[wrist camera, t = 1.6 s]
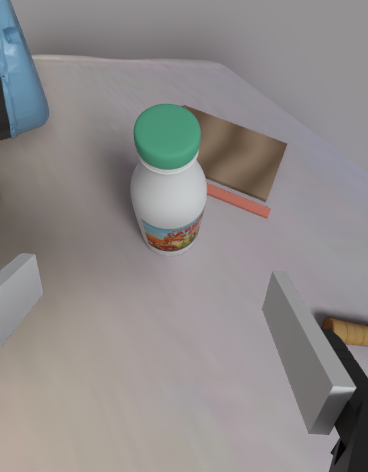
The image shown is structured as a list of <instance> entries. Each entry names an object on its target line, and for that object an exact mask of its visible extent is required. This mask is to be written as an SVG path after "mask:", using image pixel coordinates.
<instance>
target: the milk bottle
mask: <svg viewBox="0 0 368 472" xmlns="http://www.w3.org/2000/svg"><path fill="white" fill-rule="evenodd" d="M200 138H201V130H200V126H199V123H198V121H197V119H196V117H195V116H194V115H193V114H192V113H191V112H190V111H188V110H187V109H185V108H183V107H181V106H178V105H173V104H160V105H155V106H153V107H150V108H148V109H147V110H145V111H144V112H143V113H141V115H140V116H139V117H138V119H137V120H136V123H135V126H134V141H135V145H136V149H137V155H138V157H139V159H140V161H139V162H138V164H137V166H136V167H135V169H134V172H133V175H132V178H131V185H130V192H131V200H132V204H133V208H134V212H135V215H136V218H137V221H138V224H139V227H140V230H141V233H142V236H143V238H144V240H145V242H146V244H147V245H148V246H149V248H150V249H152V250H153V251H154V252H156V253H158V254H161V255H165V256H175V255H179V254H181V253H184V252H185V251H187V250H188V249H189V248H190V247H191V246H192V245H193V243H194V242H195V240H196V237H197V234H198V231H199V227H200V224H201V220H202V216H203V212H204V208H205V203H206V198H207V184H206V178H205V175H204V172H203V170H202V168H201V166H200V164H199V163H198V161H197V160H196V159H197V156H198V152H199V145H200Z"/></svg>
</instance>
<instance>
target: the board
mask: <svg viewBox="0 0 368 472" xmlns="http://www.w3.org/2000/svg"><path fill="white" fill-rule="evenodd" d="M183 108H185V109H187V110H188V111H190V112H191V113H192V114H193V115H194V116H195V117H196V119H197V121H198V123H199V126H200V130H201V138H200V145H199V152H198V156H197V159H196V160H197V161H198V163H199V164H200V166H201V168H202V170H203V172H204V175H205V178H207V179H210V180H212V181H215V182H217V183H220V184H222V185H225V186H227V187H230V188H232V189H235V190H237V191H240V192H242V193H245V194H247V195H250V196H252V197H255V198H257V199H260V200H262V201H265V202H266V200H267V198H268V195H269V192H270V190H271V187H272V184H273V181H274V179H275V176H276V173H277V170H278V168H279V165H280V162H281V159H282V157H283V154H284V151H285V148H286V146H287V143H284V142H281V141H279V140H276V139H273V138H271V137H268V136H265V135H263V134H260V133H257V132H254V131H252V130H249V129H246V128H244V127H241V126H238V125H236V124H233V123H230V122H228V121H225V120H222V119H220V118H217V117H214V116H212V115H209V114H206V113H204V112H201V111H198V110H196V109H193V108H190V107H188V106H185V105H184V106H183Z"/></svg>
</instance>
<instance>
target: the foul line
mask: <svg viewBox="0 0 368 472" xmlns="http://www.w3.org/2000/svg"><path fill="white" fill-rule="evenodd" d="M206 184H207V194H208V195H210V196H213V197H215V198H217V199H220V200H222V201H225V202H227V203H230V204H232V205H235V206H237V207H240V208H242V209H245V210H247V211H249V212H252V213H254V214H257V215H259V216H262V217H264V218H268V215H269V212H270V208H268V207H265V206H263V205H260V204H258V203H255V202H253V201H250V200H248V199H245V198H243V197H240V196H238V195H235V194H233V193H230V192H228V191H225V190H223V189H220V188H218V187H215V186H213V185H210V184H208V183H206Z"/></svg>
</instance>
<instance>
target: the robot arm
mask: <svg viewBox="0 0 368 472" xmlns="http://www.w3.org/2000/svg"><path fill="white" fill-rule="evenodd" d="M48 117H49V107H48V103H47V100H46V97H45V94H44V91H43V88H42V85H41V82H40V79H39V76H38V73H37V71H36V68H35V65H34V62H33V59H32V57H31V54H30V52H29V49H28V46H27V44H26V40H25V38H24V35H23V32H22V29H21V27H20V24H19V21H18V19H17V16H16V14H15V11H14V9H13V6H12V3H11V1H10V0H0V140H4V139H7V138H12V139H13V138H15V137H17V135H18V134H20V133H23V132H26V131H29V130H32V129H35V128H38V127H40V126H42V125H43V124H45V122H46V121H47V119H48ZM42 295H43V290H42V285H41V280H40V275H39V271H38V266H37V261H36V256H35V254H28V253H20V254H19V255H18V256H17V257H16V258H14V259H13V260H12V261H11V262H10V263H9V264H7V265H6V266H5V267H4V268H3V269H1V270H0V348H1V347H2V346H3V344H4V343H5V342H6V341H7V339H8V338H9V337H10V336H11V334H12V333H13V332H14V331H15V329H16V328H17V327H18V326H19V324H20V323H21V322H22V320H23V319H24V318H25V317H26V315H27V314H28V313H29V312H30V310H31V309H32V308H33V307H34V305H35V304H36V303H37V302H38V300H39V299H40V298H41V297H42ZM262 310H263V313H264V316H265V318H266V321H267V324H268V326H269V329H270V332H271V334H272V337H273V340H274V342H275V345H276V348H277V350H278V353H279V356H280V358H281V361H282V364H283V366H284V369H285V372H286V374H287V377H288V380H289V382H290V385H291V388H292V390H293V393H294V396H295V398H296V401H297V404H298V406H299V409H300V412H301V414H302V417H303V420H304V422H305V425H306V428H307V430H308V433H309V434H323V435H329V434H330V432H331V431H332V429H333V427H334V425H335V427H336V430H337V432H338V434H339V436H340V438H339V440H338V441H337V443H336V445H335V446H334V448H333V450H332V451H331V454H332V455H333V459H332V463H331V466H330V470H329V472H368V378H367V376H366V375H365V373H364V372H363V370H362V369H361V367H360V366H359V364H358V363H357V361H356V360H354V357H353V355H352V354H351V352H350V351H348V348H347V346H346V345H345V343H344V342H343V340H342V339H341V338H340V337H339V336H338V335H337V334H336V333H334V332H333V331H332V330H331V329H323V328H320V327H319V325H318V324H317V322H316V320H315V319H314V317H313V315H312V314H311V312H310V311H309V309H308V307H307V306H306V304H305V302H304V301H303V299H302V297H301V296H300V294H299V293H298V291H297V289H296V288H295V286H294V284H293V283H292V281H291V279H290V278H289V276H288V275H287V273H286V272H278V271H272V275H271V278H270V282H269V286H268V289H267V293H266V297H265V300H264V304H263V308H262Z"/></svg>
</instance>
